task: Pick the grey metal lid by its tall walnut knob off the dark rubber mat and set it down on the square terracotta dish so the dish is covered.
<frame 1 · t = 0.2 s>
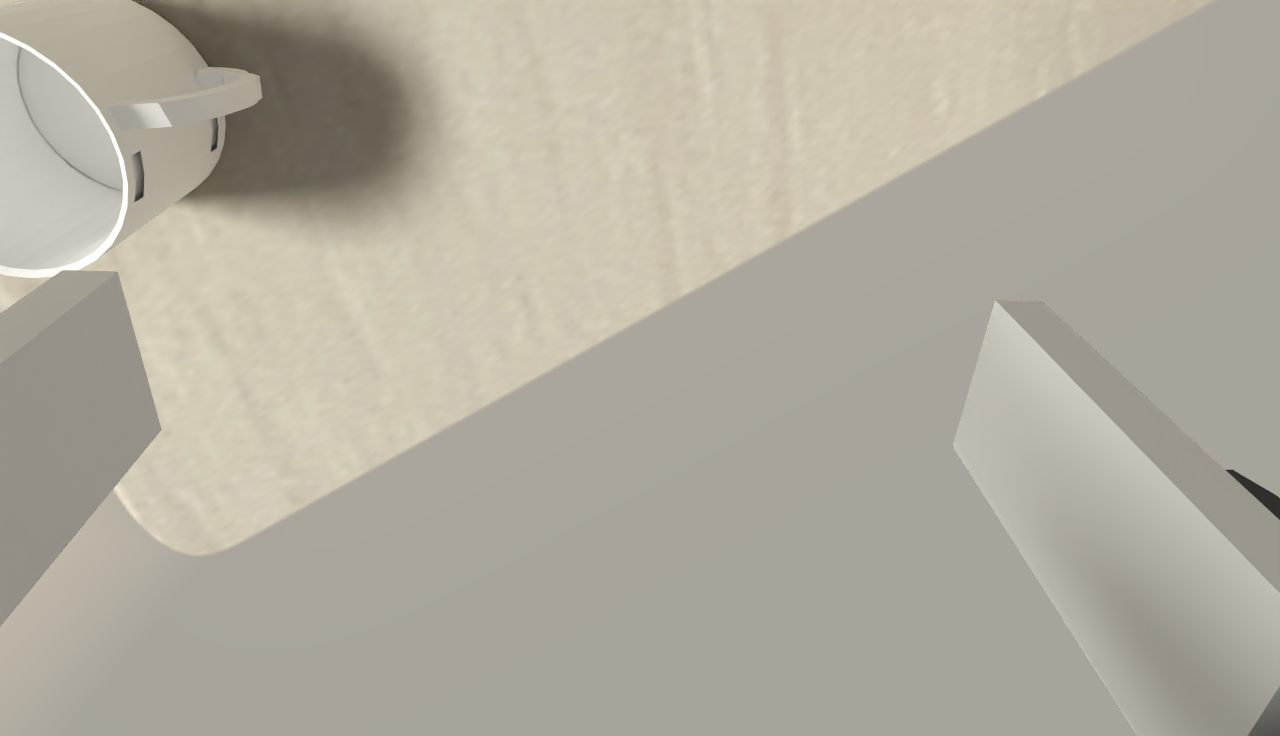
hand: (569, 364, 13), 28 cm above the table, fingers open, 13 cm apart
mug: (159, 100, 37), on the table
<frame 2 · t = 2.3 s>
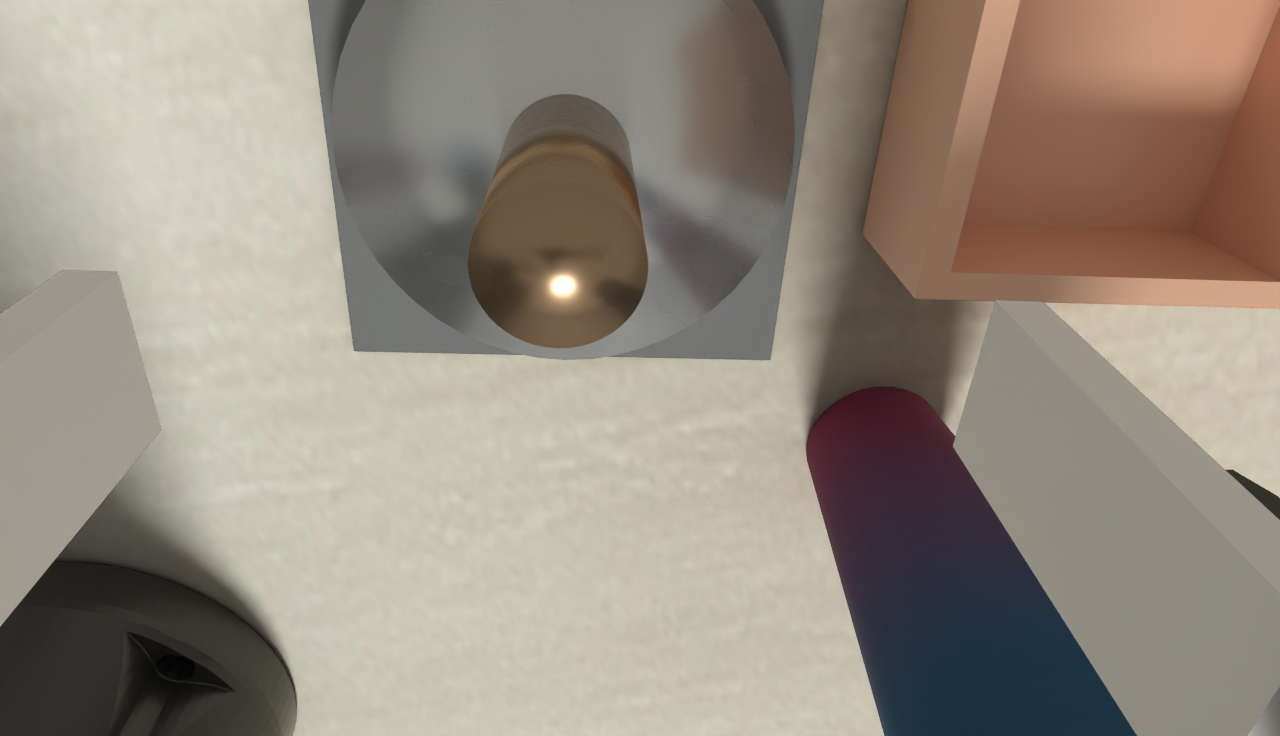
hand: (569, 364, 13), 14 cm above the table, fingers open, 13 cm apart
mat: (568, 144, 25), on the table
cup: (871, 440, 31), on the table
lid: (568, 148, 25), resting on mat
dish: (1078, 63, 25), on the table
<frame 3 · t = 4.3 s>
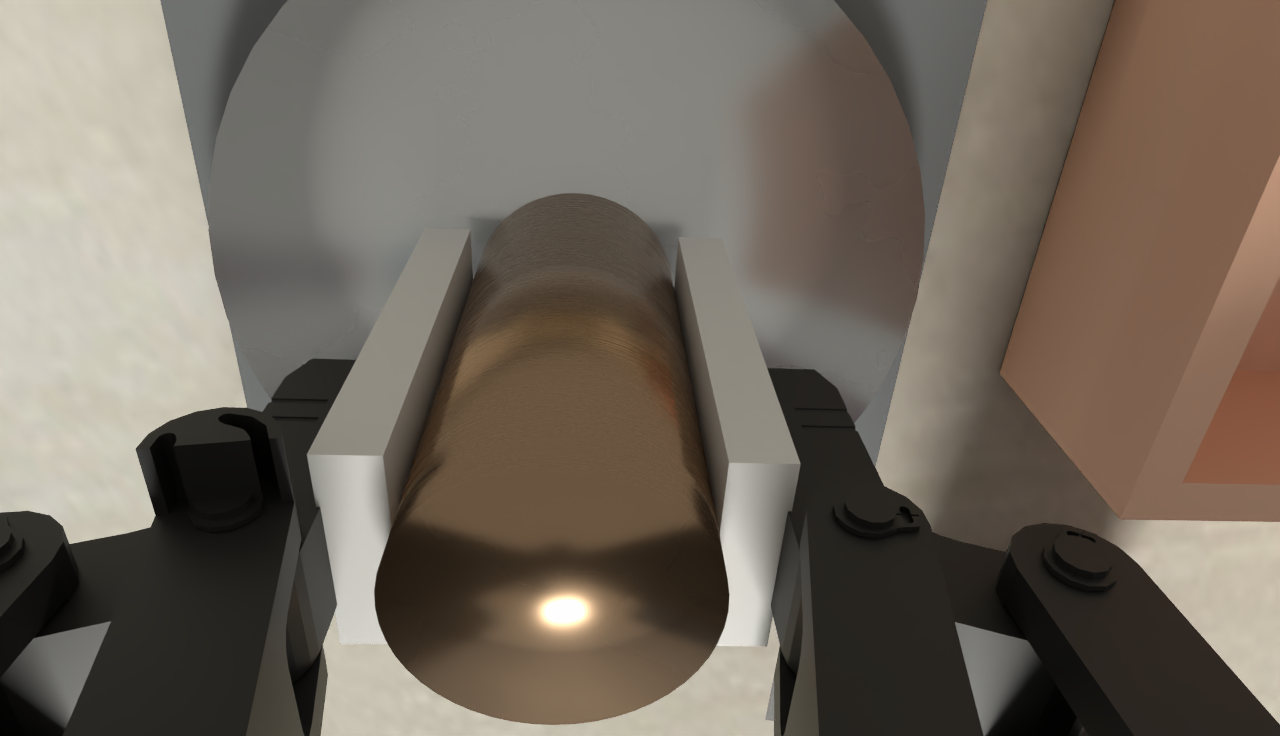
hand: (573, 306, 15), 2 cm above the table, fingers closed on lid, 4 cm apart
mat: (577, 254, 17), on the table
lid: (576, 262, 16), resting on mat, touching gripper
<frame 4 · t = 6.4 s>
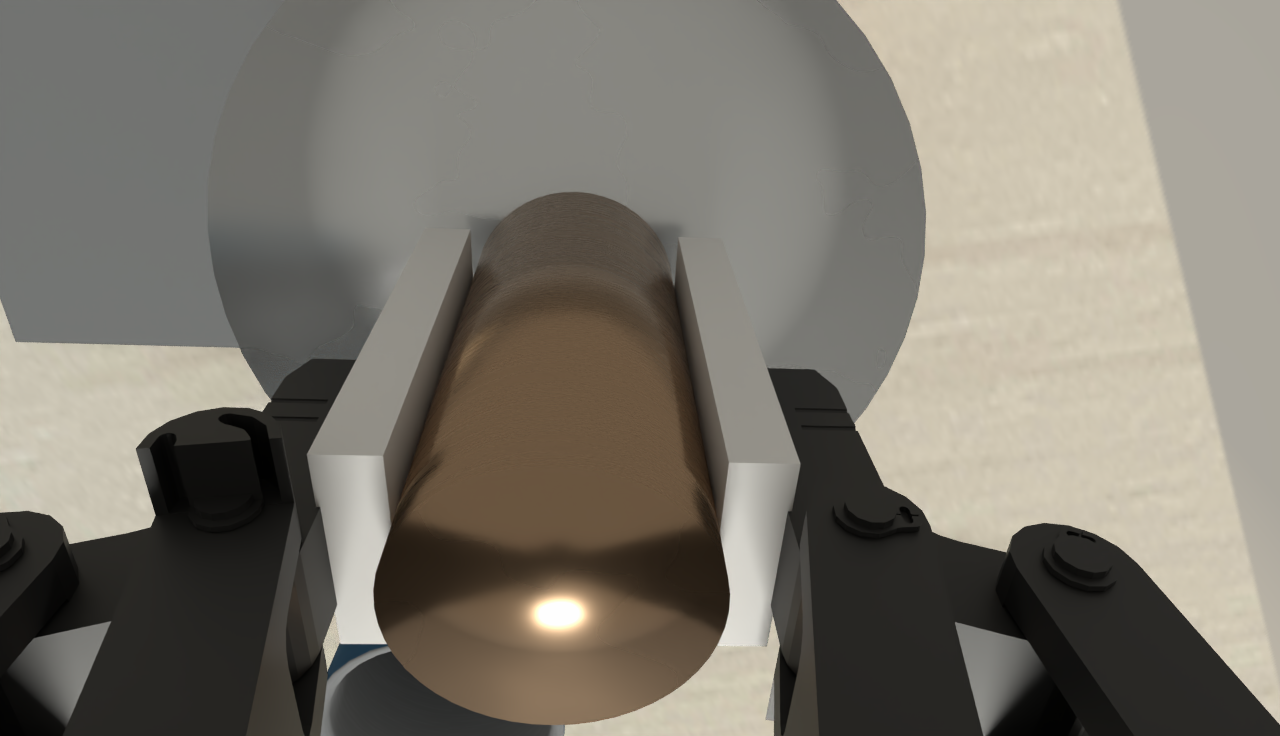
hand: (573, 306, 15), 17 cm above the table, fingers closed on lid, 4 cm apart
mat: (165, 169, 30), on the table
cup: (497, 422, 36), on the table
lid: (576, 261, 16), point 15 cm above the table, touching gripper
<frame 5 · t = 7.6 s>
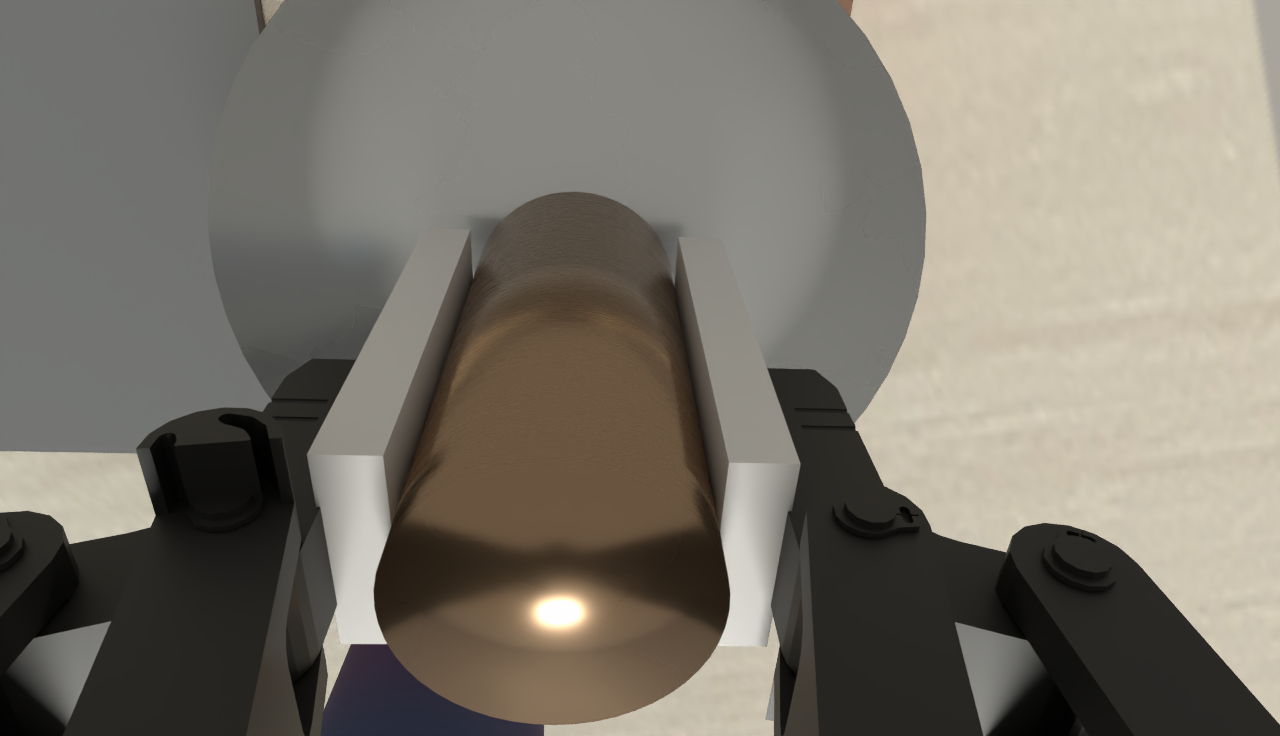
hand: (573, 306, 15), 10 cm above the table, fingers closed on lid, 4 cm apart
mat: (46, 242, 24), on the table
cup: (473, 532, 30), on the table
lid: (576, 261, 16), point 8 cm above the table, touching gripper
when the fingers open (8 cm above the table, at t = 8.4 s): lid drops 2 cm, resting on dish.
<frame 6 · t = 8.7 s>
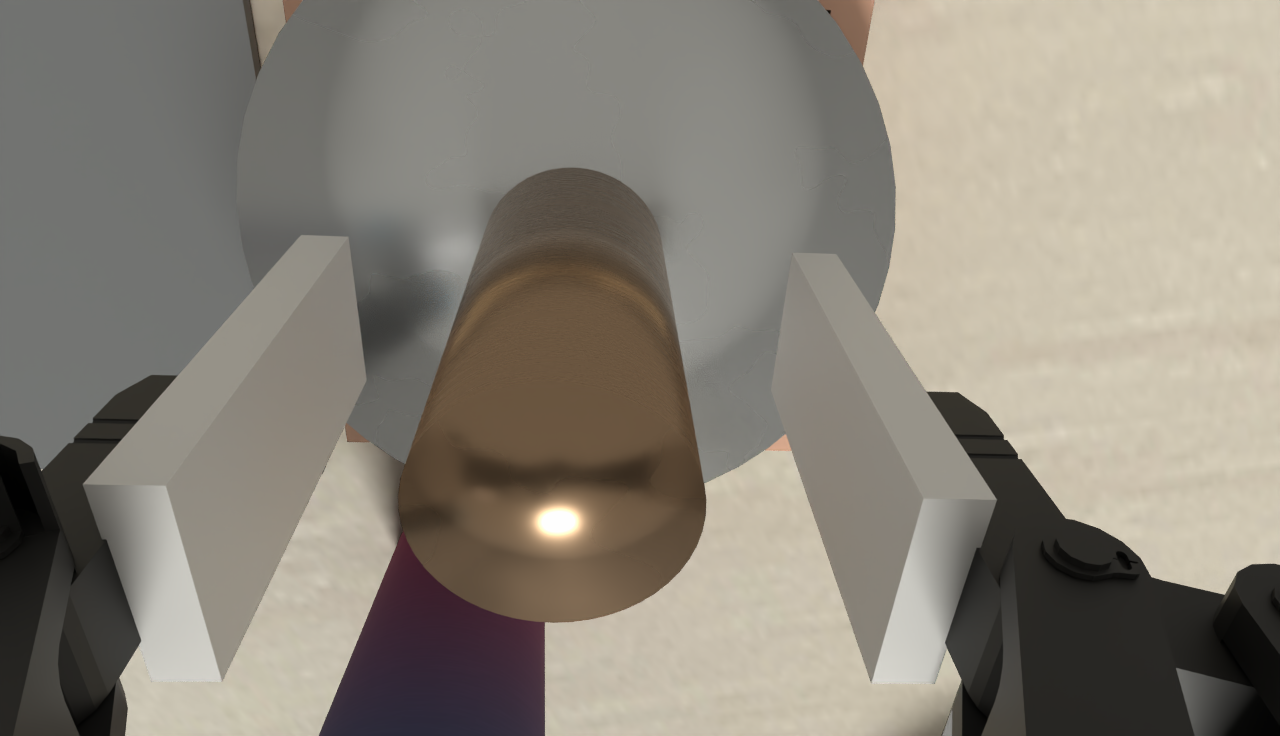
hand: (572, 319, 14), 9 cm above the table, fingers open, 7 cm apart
mat: (30, 254, 23), on the table
cup: (472, 551, 29), on the table
lid: (574, 234, 18), point 5 cm above the table, touching dish
dish: (582, 168, 22), on the table
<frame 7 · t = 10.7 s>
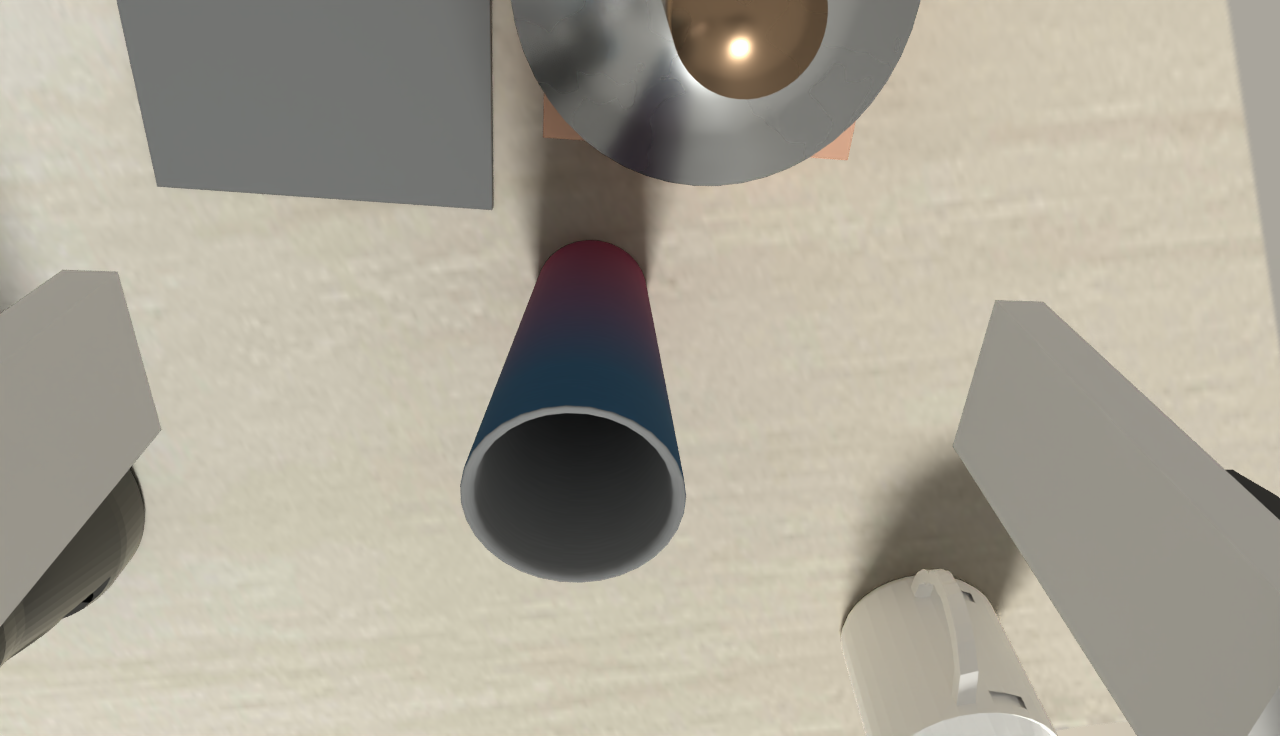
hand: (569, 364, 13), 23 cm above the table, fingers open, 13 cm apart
mat: (309, 20, 32), on the table
cup: (592, 289, 38), on the table
mug: (920, 607, 49), on the table
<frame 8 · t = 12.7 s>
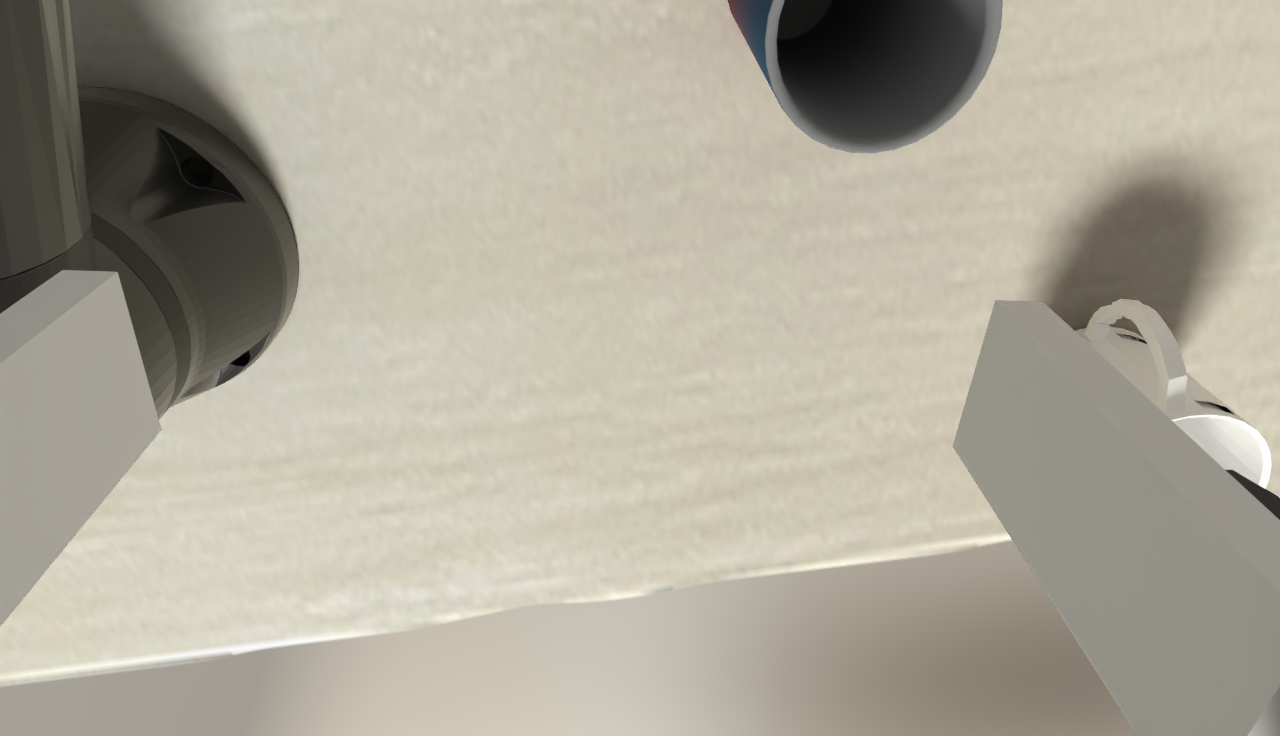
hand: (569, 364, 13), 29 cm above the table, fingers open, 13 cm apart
mug: (1084, 368, 48), on the table
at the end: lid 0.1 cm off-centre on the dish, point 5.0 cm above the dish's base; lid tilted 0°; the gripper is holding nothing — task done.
